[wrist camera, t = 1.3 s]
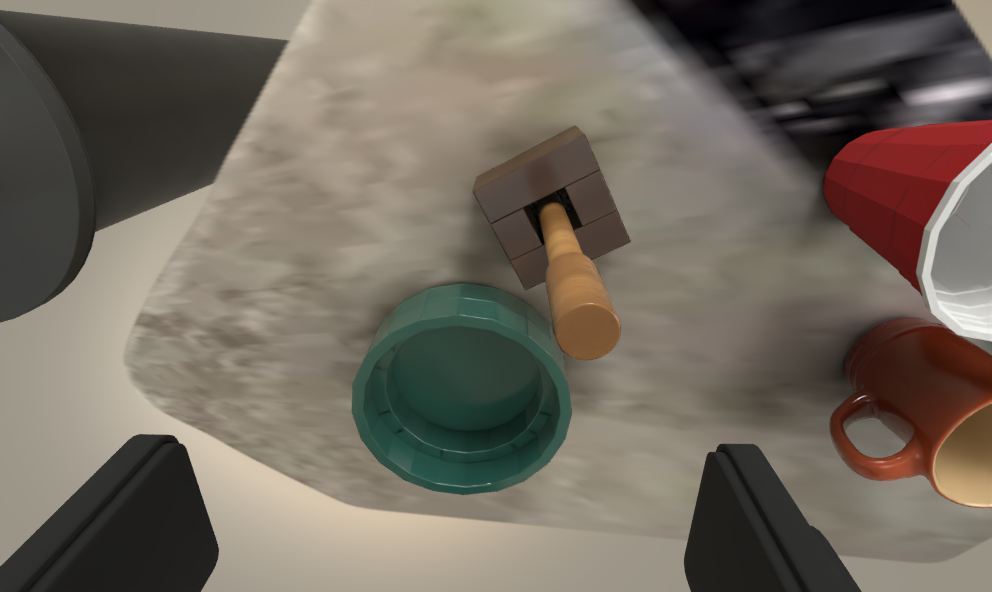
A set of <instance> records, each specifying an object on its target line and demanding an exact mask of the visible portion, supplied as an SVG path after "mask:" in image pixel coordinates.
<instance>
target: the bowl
mask: <svg viewBox="0 0 992 592" xmlns="http://www.w3.org/2000/svg"><path fill="white" fill-rule="evenodd" d="M352 414H353V417H354V420H355V423H356V426H357V428H358V431H359V434H360V437H361V439H362V441H363V442H364V443H365V445H366V446H367V447H368V449H369V450H370V451H371V452H372V454H373V455H374V456H375V457H376V459H377V460H378V461H379V462H380V463H381V464H382V465H384V466H385V467H387V468H388V469H389V470H391V471H392V472H394V473H395V474H396V475H398V476H399V477H401V478H402V479H403V480H405V481H408V482H411V483H413V484H416V485H419V486H421V487H424V488H427V489H429V490H432V491H437V492H445V493H453V494H461V495H468V494H477V493H487V492H495V491H499V490H502V489H505V488H507V487H510V486H513V485H516V484H518V483H521V482H524V480H527V479H528V478H529V477H531V476H532V475H533V474H535V473H536V472H537V471H539V470H540V469H542V468H543V467H544V466H546V465H547V464H548V463H549V462H550V460H551V459H552V458H553V456H554V455H555V453H556V452H557V451H558V449H559V448H560V446H561V445H562V444H563V442H564V440H565V438H566V434H567V431H568V427H569V423H570V419H571V416H572V408H571V400H570V392H569V385H568V380H567V374H566V369H565V364H564V359H563V354H562V350H561V349H560V347H559V346H558V344H557V342H556V338H555V334H554V333H553V331H552V329H551V327H550V325H549V323H548V322H547V321H546V320H545V319H544V318H543V317H542V316H541V315H539V314H538V313H537V312H536V311H535V310H534V309H533V308H532V307H531V306H530V305H529V304H528V303H526V302H525V301H524V300H521V299H519V298H517V297H515V296H513V295H511V294H509V293H506V292H504V291H502V290H500V289H498V288H495V287H488V286H481V285H474V284H468V283H460V284H453V285H446V286H440V287H433V288H429V289H427V290H425V291H423V292H421V293H419V294H417V295H415V296H413V297H411V298H408V299H406V300H404V301H403V302H401V303H400V304H399V305H398V306H397V307H396V308H395V309H394V310H393V311H392V312H391V313H390V314H389V315H388V316H387V317H386V318H385V319H384V320H383V321H382V323H381V325H380V327H379V329H378V331H377V333H376V335H375V337H374V339H373V341H372V343H371V345H370V347H369V350H368V352H367V354H366V356H365V358H364V360H363V362H362V364H361V367H360V369H359V371H358V373H357V375H356V378H355V380H354V382H353V392H352Z"/></svg>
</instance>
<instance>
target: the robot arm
mask: <svg viewBox="0 0 992 592" xmlns="http://www.w3.org/2000/svg"><path fill="white" fill-rule="evenodd" d="M218 552H219V548H218V544H217V541H216V537H215V535H214V531H213V528H212V525H211V522H210V519H209V516H208V513H207V510H206V507H205V504H204V501H203V498H202V495H201V492H200V489H199V486H198V483H197V480H196V477H195V474H194V471H193V467H192V465H191V461H190V458H189V456H188V452H187V449H186V448H185V446H184V445H183V444H180V443H179V442H178V440H177V438H175V437H174V436H172V435H147V434H146V435H145V434H139V435H136V436H133V437H132V438H131V439H129V440H128V441H127V442H126V443H125V444H124V445H123V446H122V447H121V448H120V449H119V450H118V451H117V452H116V453H115V454H114V455H113V456H112V457H111V458H110V459H109V460H108V461H107V462H106V463H105V464H104V465H103V466H102V467H101V468H100V469H99V470H98V471H97V472H96V473H95V474H94V475H93V476H92V477H91V478H90V479H89V480H88V481H87V482H86V483H85V484H84V485H83V486H82V487H81V488H79V490H77V492H76V493H75V494H74V495H72V496H71V497H70V498H69V500H67V501H66V502H65V503H64V504H63V505H62V506H61V507H60V508H59V509H58V510H57V511H56V512H55V513H54V514H53V515H52V516H51V517H50V518H49V519H48V520H47V521H46V522H45V523H44V524H43V525H42V526H41V527H40V528H39V529H38V530H37V531H36V532H35V533H34V534H33V535H32V536H31V537H30V538H29V539H28V540H27V541H26V542H25V543H24V544H23V545H22V546H21V547H20V548H19V549H18V550H17V551H16V552H15V553H14V554H13V555H12V556H11V557H10V558H9V559H8V560H7V561H6V562H5V563H4V564H3V565H1V566H0V592H201V590H202V589H203V587H204V585H205V583H206V582H207V580H208V578H209V577H210V575H211V573H212V571H213V569H214V568H215V566H216V563H217V560H218V554H219V553H218ZM684 566H685V574H686V578H687V581H688V584H689V587H690V590H691V592H861V590H860V589H859V587H858V586H857V584H856V583H855V581H854V580H853V578H852V577H851V575H850V573H849V572H848V570H847V569H846V567H845V566H844V564H843V563H842V561H841V560H840V559H839V557H838V555H837V554H836V552H835V551H834V549H833V548H832V546H831V545H830V543H829V542H828V540H827V539H826V538H825V537H824V536H823V534H822V533H821V532H820V531H819V530H817V529H816V528H814V527H813V526H810V525H809V524H808V522H807V521H806V519H805V518H804V516H803V515H802V513H801V511H800V510H799V508H798V507H797V505H796V504H795V502H794V501H793V499H792V498H791V496H790V495H789V493H788V491H787V490H786V488H785V487H784V485H783V484H782V482H781V481H780V479H779V478H778V476H777V474H776V473H775V471H774V470H773V468H772V467H771V465H770V464H769V462H768V461H767V459H766V457H765V456H764V454H763V453H762V451H761V450H760V449H759V448H758V446H756V445H754V444H720V445H719V446H718V447H717V450H716V452H709V453H708V454H707V457H706V461H705V466H704V470H703V475H702V479H701V484H700V488H699V493H698V497H697V502H696V506H695V511H694V515H693V520H692V524H691V529H690V533H689V538H688V542H687V547H686V551H685V557H684Z"/></svg>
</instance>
